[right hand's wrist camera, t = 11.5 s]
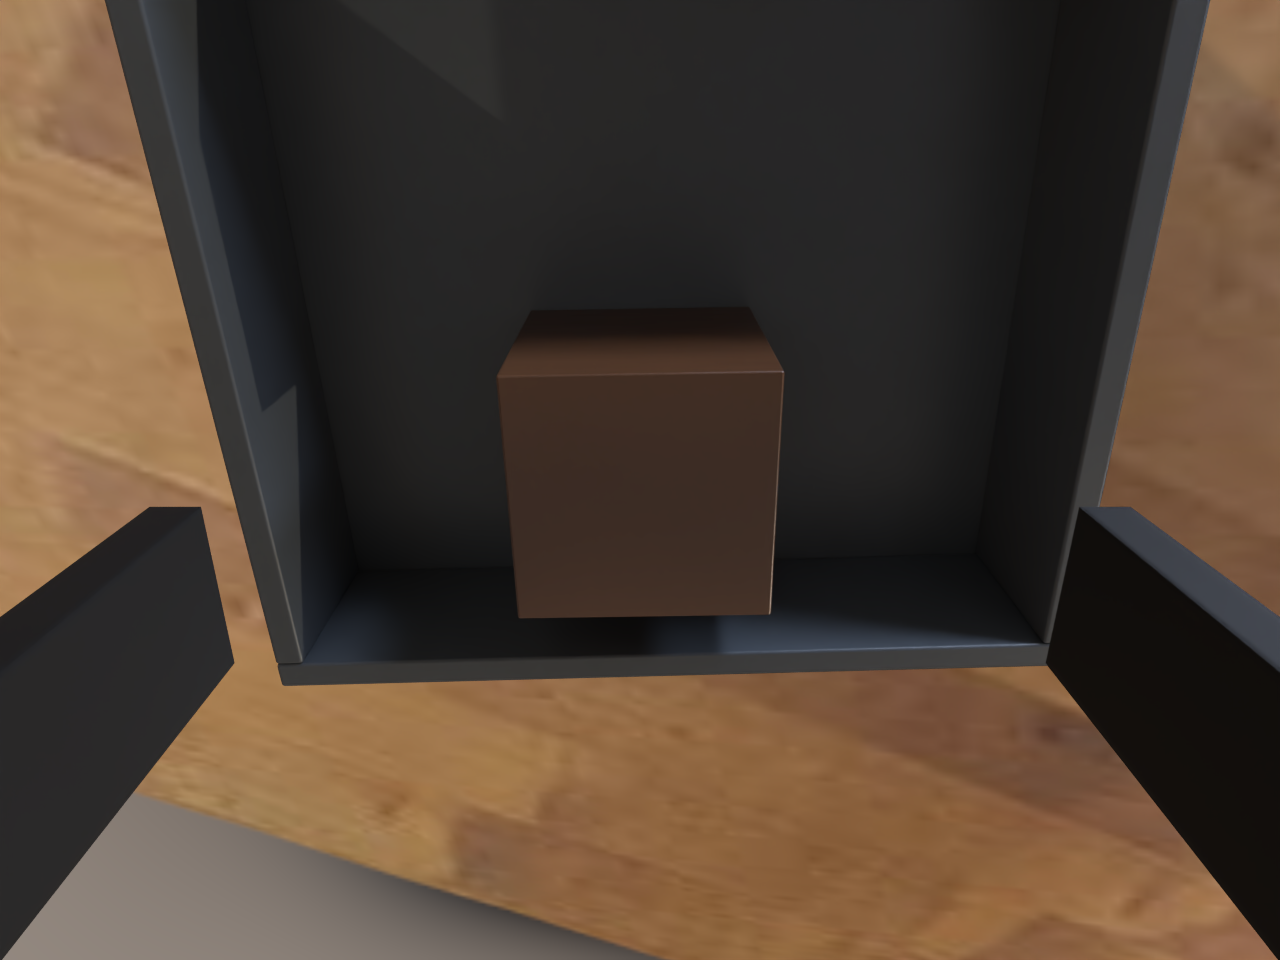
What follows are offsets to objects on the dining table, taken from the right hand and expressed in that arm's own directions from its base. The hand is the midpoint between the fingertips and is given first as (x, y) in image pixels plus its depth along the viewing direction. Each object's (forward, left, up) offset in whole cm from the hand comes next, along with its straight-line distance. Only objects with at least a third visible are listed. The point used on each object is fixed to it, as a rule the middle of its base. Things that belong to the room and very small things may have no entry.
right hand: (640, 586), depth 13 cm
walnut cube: (0, 0, -8) cm, 8 cm away
